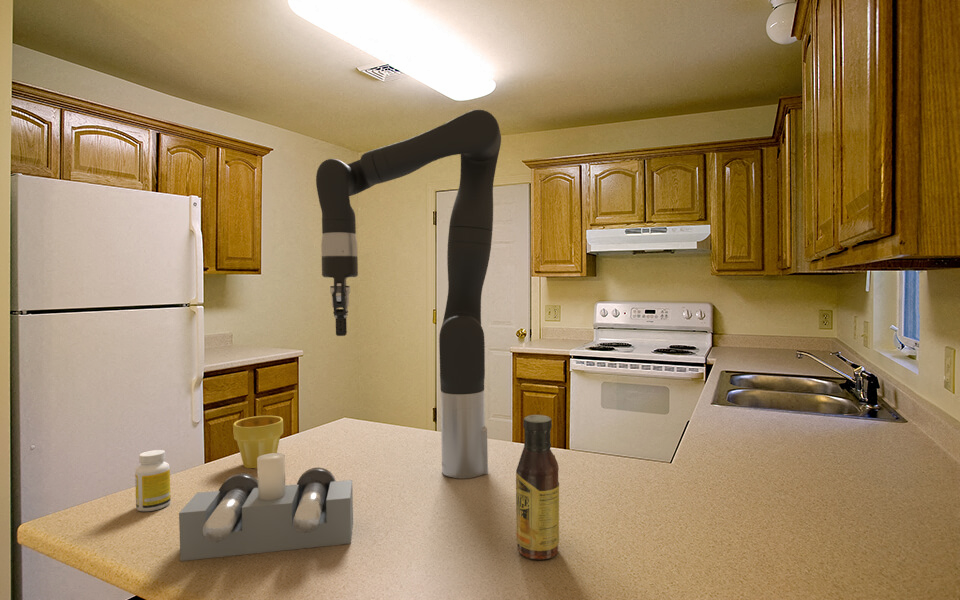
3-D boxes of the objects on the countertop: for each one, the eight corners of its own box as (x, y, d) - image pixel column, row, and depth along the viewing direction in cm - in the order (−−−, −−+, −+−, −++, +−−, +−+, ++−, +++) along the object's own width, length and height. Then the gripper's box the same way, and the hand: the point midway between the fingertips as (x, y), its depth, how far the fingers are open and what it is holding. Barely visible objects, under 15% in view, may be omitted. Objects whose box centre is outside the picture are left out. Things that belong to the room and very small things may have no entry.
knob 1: (262, 509, 90) (261, 471, 90) (241, 549, 76) (240, 504, 76) (220, 513, 89) (219, 474, 88) (192, 554, 75) (191, 508, 75)
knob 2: (336, 503, 92) (335, 466, 92) (329, 540, 78) (328, 496, 78) (297, 506, 91) (296, 469, 91) (283, 545, 77) (282, 500, 77)
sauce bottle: (513, 543, 82) (511, 412, 81) (554, 540, 82) (552, 411, 82) (520, 565, 75) (518, 423, 75) (564, 562, 76) (562, 421, 75)
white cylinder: (287, 489, 86) (286, 452, 86) (283, 498, 82) (282, 459, 82) (261, 491, 86) (260, 454, 85) (255, 501, 82) (254, 461, 82)
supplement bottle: (177, 502, 100) (176, 449, 100) (151, 514, 95) (149, 458, 95) (155, 499, 102) (154, 447, 101) (128, 510, 97) (127, 456, 96)
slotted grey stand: (353, 521, 90) (352, 479, 90) (351, 543, 82) (350, 498, 82) (198, 536, 86) (197, 492, 86) (180, 561, 78) (178, 513, 78)
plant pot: (266, 472, 115) (265, 427, 115) (223, 470, 117) (222, 425, 117) (292, 457, 126) (291, 416, 125) (253, 455, 128) (252, 414, 127)
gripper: (356, 253, 110) (358, 337, 111) (358, 257, 123) (360, 332, 124) (318, 253, 109) (320, 338, 109) (324, 257, 122) (326, 333, 122)
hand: (341, 335), depth 117 cm, fingers closed
